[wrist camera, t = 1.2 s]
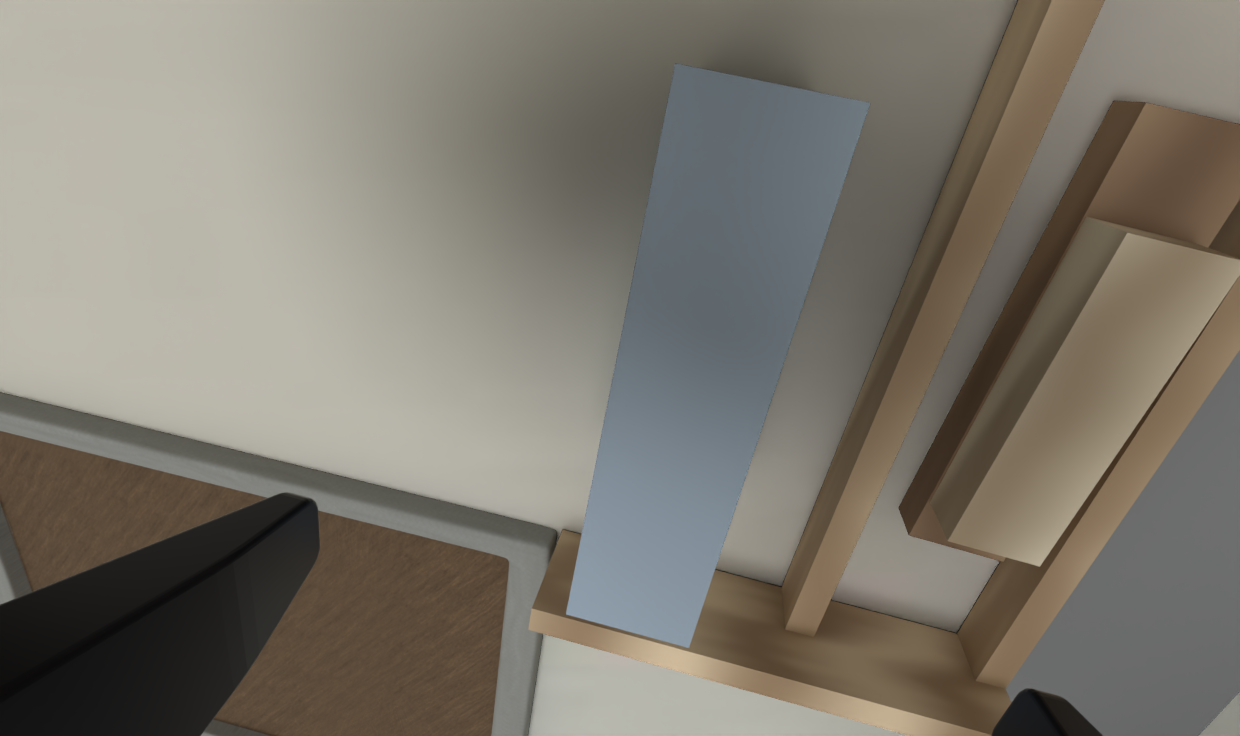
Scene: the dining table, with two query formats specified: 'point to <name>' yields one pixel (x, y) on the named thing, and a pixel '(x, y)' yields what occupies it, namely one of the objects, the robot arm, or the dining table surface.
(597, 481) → the light blue block
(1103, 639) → the mat
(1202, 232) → the offcut lower
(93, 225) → the dining table surface
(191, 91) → the dining table surface
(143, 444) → the grey picture frame
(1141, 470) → the rack
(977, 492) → the offcut upper
